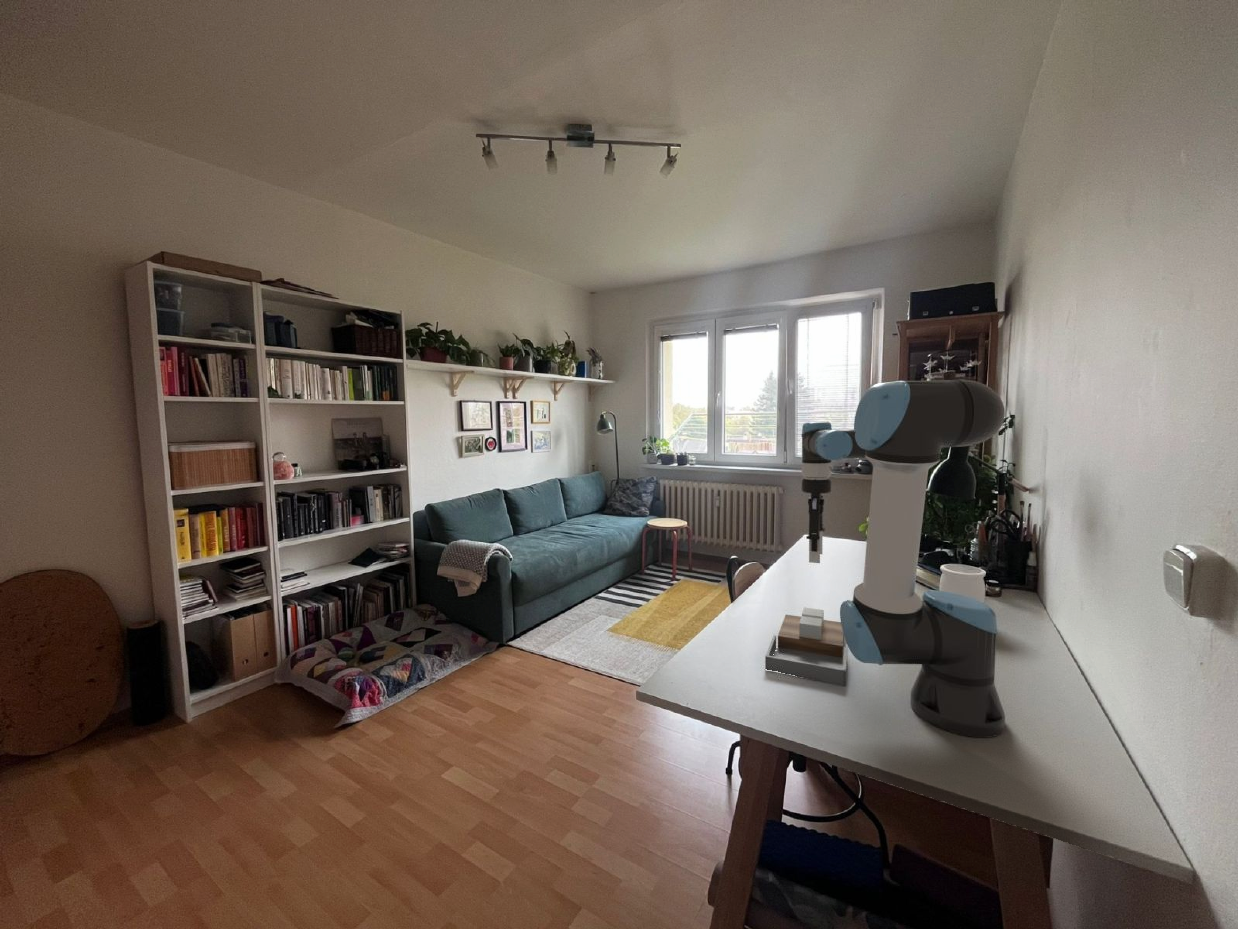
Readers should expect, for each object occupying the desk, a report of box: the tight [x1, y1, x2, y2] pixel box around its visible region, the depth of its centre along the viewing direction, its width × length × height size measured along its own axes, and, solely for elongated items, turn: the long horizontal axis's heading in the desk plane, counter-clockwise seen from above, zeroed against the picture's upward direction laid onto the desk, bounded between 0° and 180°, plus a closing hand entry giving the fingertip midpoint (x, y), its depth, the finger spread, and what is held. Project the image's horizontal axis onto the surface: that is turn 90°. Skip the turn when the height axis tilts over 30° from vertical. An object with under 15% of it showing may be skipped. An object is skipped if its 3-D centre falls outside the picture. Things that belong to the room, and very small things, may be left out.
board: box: [777, 614, 845, 658], centre depth 128 cm, size 15×15×4 cm
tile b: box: [801, 607, 825, 629], centre depth 130 cm, size 5×5×4 cm
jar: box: [939, 563, 987, 604], centre depth 138 cm, size 11×10×15 cm
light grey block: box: [799, 615, 822, 640], centre depth 124 cm, size 5×5×4 cm
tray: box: [764, 634, 848, 687], centre depth 115 cm, size 12×17×4 cm
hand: (815, 557), depth 136 cm, fingers open, 9 cm apart
